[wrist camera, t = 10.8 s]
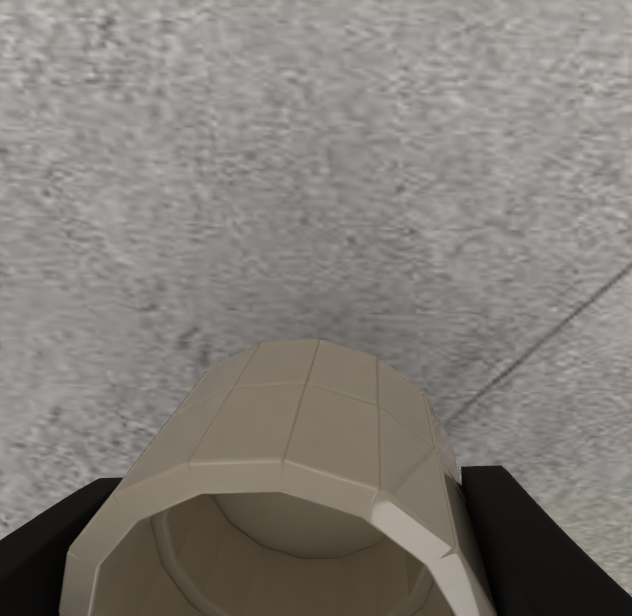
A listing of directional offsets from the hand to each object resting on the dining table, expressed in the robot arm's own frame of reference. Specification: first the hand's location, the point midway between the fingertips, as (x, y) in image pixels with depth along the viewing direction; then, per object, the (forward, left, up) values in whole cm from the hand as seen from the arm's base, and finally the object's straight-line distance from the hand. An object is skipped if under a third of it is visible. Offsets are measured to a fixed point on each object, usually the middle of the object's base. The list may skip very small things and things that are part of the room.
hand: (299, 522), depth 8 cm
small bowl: (0, 0, -2) cm, 2 cm away
